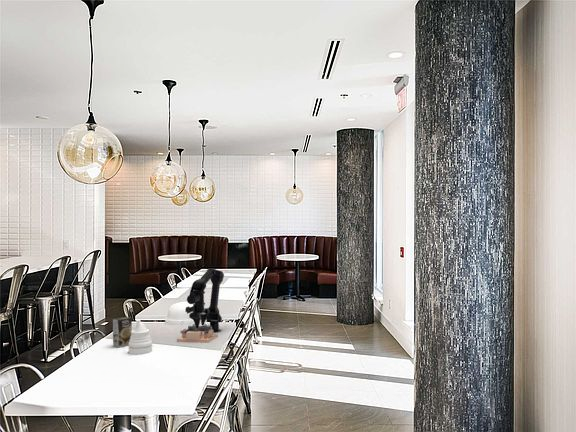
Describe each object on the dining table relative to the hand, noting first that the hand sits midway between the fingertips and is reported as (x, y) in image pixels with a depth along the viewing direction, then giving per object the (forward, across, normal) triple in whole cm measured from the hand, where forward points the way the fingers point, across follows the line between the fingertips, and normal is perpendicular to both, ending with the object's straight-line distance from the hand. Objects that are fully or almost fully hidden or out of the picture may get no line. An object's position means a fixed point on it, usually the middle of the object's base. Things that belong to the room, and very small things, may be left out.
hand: (200, 326), depth 345 cm
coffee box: (+7, +26, -38) cm, 47 cm away
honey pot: (+7, +38, -20) cm, 43 cm away
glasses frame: (+3, +4, 0) cm, 5 cm away
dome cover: (+7, -49, -31) cm, 58 cm away
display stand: (+7, +4, 0) cm, 8 cm away
